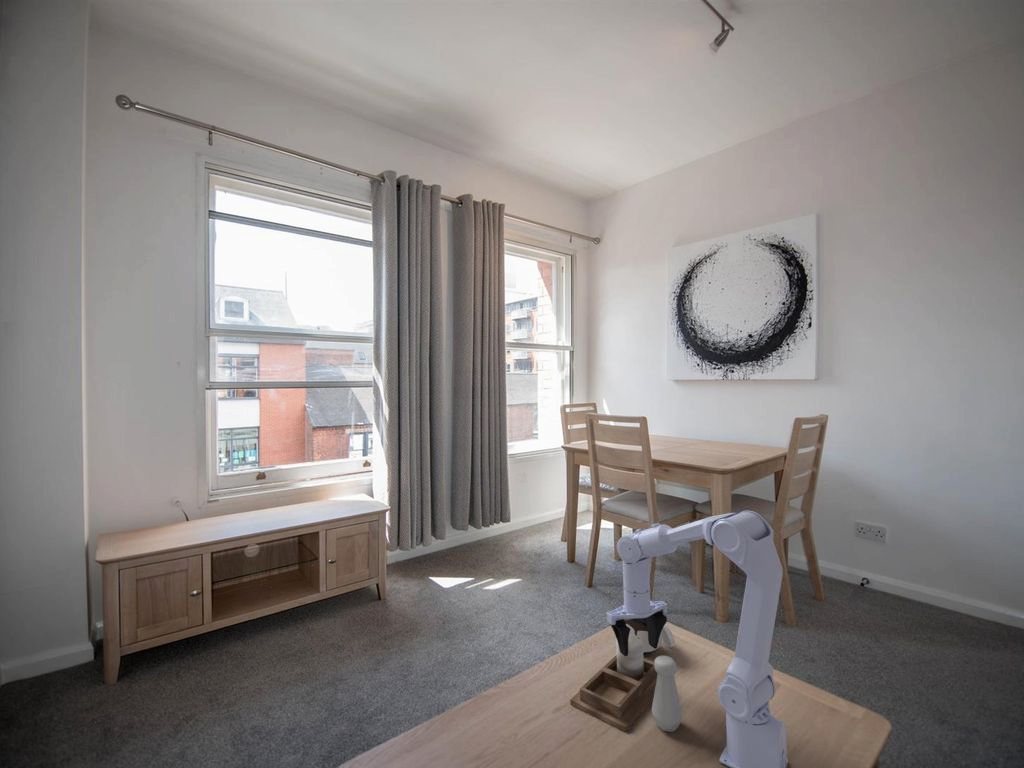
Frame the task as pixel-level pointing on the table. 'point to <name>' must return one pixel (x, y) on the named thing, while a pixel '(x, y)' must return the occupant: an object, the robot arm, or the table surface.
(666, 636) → the spread jar
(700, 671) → the table surface
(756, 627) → the robot arm
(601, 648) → the table surface
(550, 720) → the table surface
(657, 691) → the salt shaker
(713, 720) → the table surface
